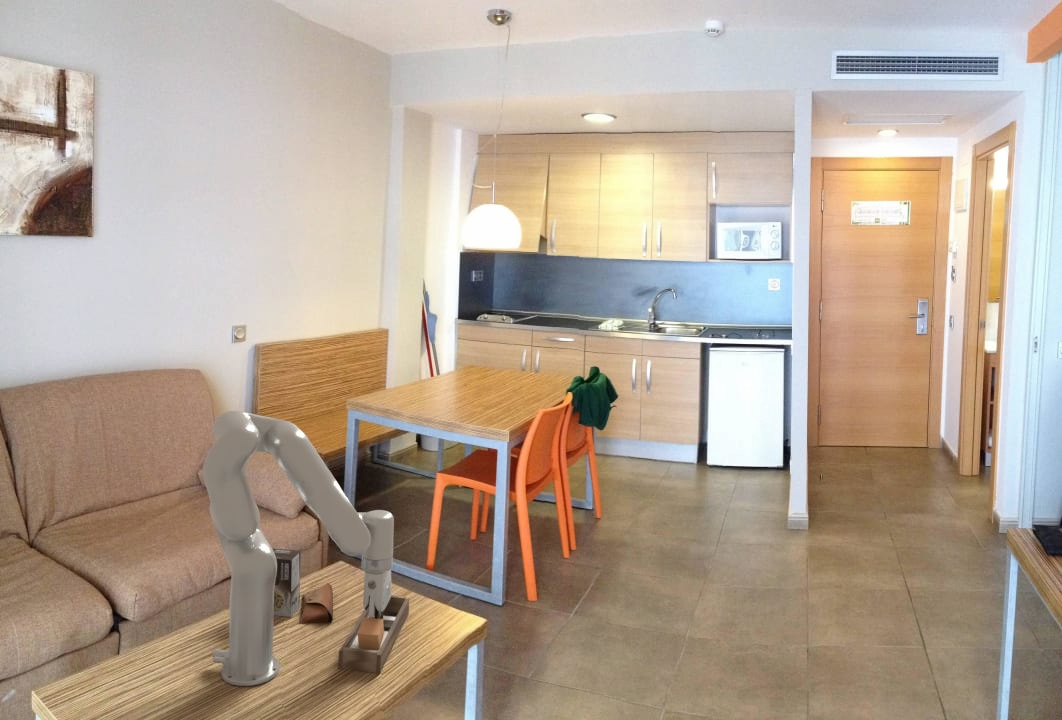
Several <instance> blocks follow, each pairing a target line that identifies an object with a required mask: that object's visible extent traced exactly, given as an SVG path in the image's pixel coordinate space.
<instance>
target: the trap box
mask: <svg viewBox="0 0 1062 720" xmlns="http://www.w3.org/2000/svg"><path fill="white" fill-rule="evenodd" d="M368 615H369V608H368V609H367V611H365V610H364V609H363V611H362V613H361V614H360V616H359V617H358V619H357V621H356V622H355V624H354V626H353V628H352V629H351V630H350V632H349V634H348V635H347V637H346V639H345V641H344V642H343V643H342V645H341V647H340V648H339V650H338V669H339V670H346V671H347V670H349V671H356V672H365V673H376V674H381V672H382V671H383V668H384V666H385V664H386V662H387V660H388V658H389V656H390V654H391V651H392V650H393V649H394V645H395V644H396V641H397V639H398V637H399V635H400V634H401V631H402V630H403V627H404V625H405V623H406V621H407V619H408V617H409V615H410V598H407V596H401V595H392V594H391V598H390V600H389V602H388V604H387V606H386V608H385V610H384V611H383V624H384V636H383V639H382V642H381V646H380V649H379V650H376V649H365V648H359V644H358V631H359V628H360V625H361V622H362V619H363V617H365V618H368ZM381 615H382V614H381Z"/></svg>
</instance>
